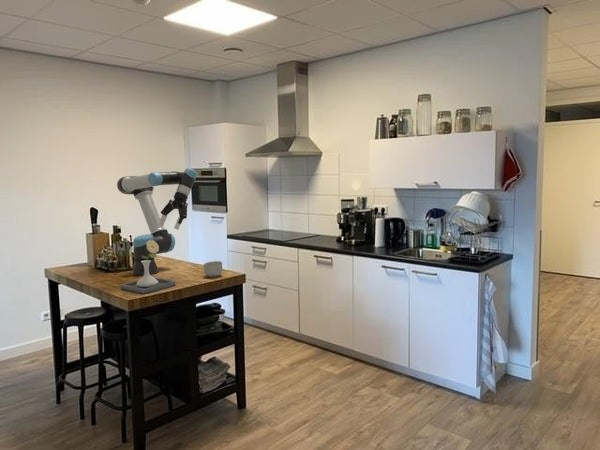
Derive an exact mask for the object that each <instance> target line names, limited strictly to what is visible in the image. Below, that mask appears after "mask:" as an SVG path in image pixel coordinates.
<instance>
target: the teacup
mask: <svg viewBox="0 0 600 450" xmlns="http://www.w3.org/2000/svg"><path fill="white" fill-rule="evenodd" d="M203 269H204V274H205V275H206V276H207V277H209V278H215V277H216V278H217V277H219V276H221V274H222V273H223V262H222V261H221V260H220V261H219V260H214V261H209V262H204V263H203Z"/></svg>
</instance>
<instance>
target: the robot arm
mask: <svg viewBox="0 0 600 450" xmlns="http://www.w3.org/2000/svg"><path fill="white" fill-rule="evenodd" d="M197 176H198V173H197V171H196V170H194V169H192V168H188V167H187V168H185V169H184V171H182V172H181V171H176V170H175V171H174V170H173V171H159V172H157V171H153V172H150V173H148V174H141V175H136V176H135V175H133V176H132V175H131V176H129V175H128V176H127V175H126V176H121V178H119V179H118V180H117V184H116V187H117V190H118V191H119V192H120V193H121V194H123V195H133V196H134V199H135V200H137V201H138V203H139V205H140V208H141V211H142V213H143V216H144V218H145V221H146V225H147V226H148V229H149V232H150V233H149V234H142V235H138V236H136V237H134V239H132V240H133V243H132V245H133V257H134V259H133V260H134V262H133V268H132V271H131V273H132V275H133V276H135V277H141V276H142V277H143V276H144V266H143V264H142V262H141V261H145V260H147V259H146V258H142V256H145V257H148V256H149V251H148V249H147V247H146V246H147V245H146V244H147V242H148V241H149V240H151V241H152V240H153V241H155V243H157V244H158V246H159V251H158V252H157V251H156V252H157V253H153V254H155V255H159V254H167V253H169V252H172V251H173V250H174V248H175V245H176V239H175V236H174V234H172V233H169V231H168V229H167V228H165V227H164V224H165V222H166V221H167V217H168V215H169V214H170V213H171V212H173V210H177V211H178V215H179V216H178V218H177V220H176V222H175V225H174V227H173V228H174V229H176V231H177V230H178V231H179V229H180V226H181V224H182V223H183V220H185V219H187V218H188V205H189V203H188V202H187V200H188V198H189V197H188V196H189V195H190V193H191V191H192V188H193V186H194V184H195V181H196V180H197V179H196V178H197ZM170 185H178V186H177V188H176V191H175V192H174V195H173V200H172V199H169V200H168V203H166V205H165V206H164V208H163V209H162V210H161V211H160V214H161V216H160V215H159V212H158V209H157V207H156V205H155V201H154V199H153V197H152V195H153V191H154V189H155V187H158V186H170ZM150 254H152V253H151V252H150ZM148 260H150V261H151V262H150V264H149V274H150V275H151V276H152V275H156V274H158V273H159V268H158V265H157V263H156V260H155V257H154V258H151V257H150V256H149V257H148Z"/></svg>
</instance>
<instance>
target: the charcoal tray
mask: <svg viewBox="0 0 600 450" xmlns="http://www.w3.org/2000/svg"><path fill="white" fill-rule="evenodd" d="M153 277H154V276H153ZM154 278H155V279H156V280H158V284H157V285H155V286H152V287H139V286H137V285H136V284H137V282H138V281H139V280H140V279H139V280H134V281H130V282H126V283H122V284H120V290H122V291H123V290H124V291H127V290H128V292H131V291H133V292H132V293H136V292H137V293H136V294H140V293H141V295H146V294H147V295H148V294H150V293H154V292H158V291H161V290H166V289H169V288H172V287H176V281H175V280H170V279H165V278H159V277H154Z"/></svg>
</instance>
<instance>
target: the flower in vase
mask: <svg viewBox="0 0 600 450" xmlns="http://www.w3.org/2000/svg"><path fill="white" fill-rule="evenodd" d="M146 245H147V246H146V247H147V249H148V251H149V256H150V257H151V258H154V259H155V258H156V257H157V254H153V253H157V252H158V251H159V246H158V244H157V243H155V241H153V240H152V241H151V240H149V241H148V242H147V244H146ZM156 251H157V252H156ZM150 252H151V253H152V254H150ZM149 256H148V257H149ZM148 257H145V256H142V258H146V259H147V260H145V261H141V262H142V264H143V266H144V276H142V277H141V278H139V281H138V280H137V281H138V282H137V284H136V285H137V286H139V287H152V286H155V285H157V284H158V280H156V279H155V278H156V277H155V278H154V276H152V275H150V274H149V264H150V262H151V261H150V260H148Z"/></svg>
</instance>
